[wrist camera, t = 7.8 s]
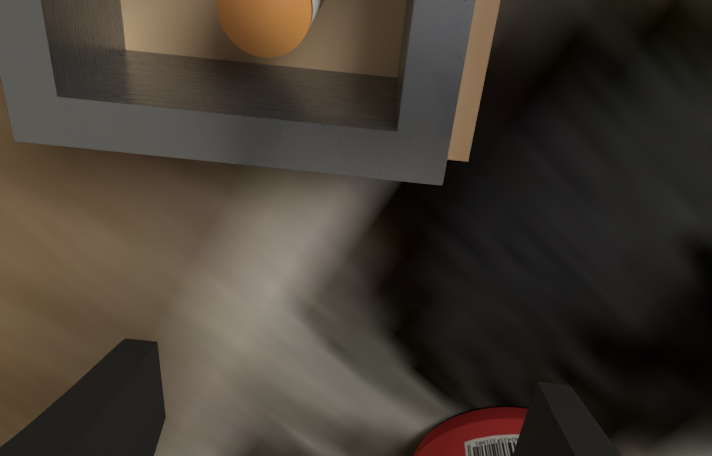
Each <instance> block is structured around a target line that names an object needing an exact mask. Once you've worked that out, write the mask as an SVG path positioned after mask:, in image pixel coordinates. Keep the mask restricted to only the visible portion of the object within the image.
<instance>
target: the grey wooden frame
mask: <svg viewBox="0 0 712 456" xmlns="http://www.w3.org/2000/svg"><path fill="white" fill-rule="evenodd" d="M475 2H476V0H407V1H406V9H405V17H404V25H403V33H402V41H401V49H400V57H399V66H398V74H397V78H395V77H386V76H376V75H366V74H356V73H347V72H337V71H327V70H317V69H308V68H298V67H288V66H278V65H269V64H259V63H249V62H239V61H230V60H220V59H210V58H200V57H191V56H181V55H171V54H162V53H152V52H142V51H132V50H126V47H125V37H124V28H123V19H122V10H121V1H120V0H0V77H1V81H2V86H3V90H4V95H5V99H6V104H7V108H8V113H9V118H10V122H11V127H12V131H13V136H14V140H15V141H17V142H27V143H36V144H46V145H56V146H65V147H75V148H85V149H94V150H104V151H114V152H123V153H133V154H143V155H153V156H162V157H172V158H182V159H191V160H201V161H211V162H220V163H230V164H240V165H249V166H259V167H269V168H278V169H288V170H298V171H308V172H317V173H327V174H337V175H346V176H356V177H366V178H375V179H385V180H395V181H404V182H414V183H424V184H433V185H443V180H444V174H445V169H446V163H447V158H448V152H449V146H450V141H451V135H452V130H453V124H454V119H455V113H456V108H457V102H458V96H459V91H460V85H461V80H462V74H463V69H464V63H465V58H466V52H467V46H468V41H469V35H470V30H471V24H472V19H473V13H474V8H475Z"/></svg>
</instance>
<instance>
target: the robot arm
mask: <svg viewBox="0 0 712 456" xmlns="http://www.w3.org/2000/svg"><path fill="white" fill-rule="evenodd" d="M164 421H165V408H164V399H163V390H162V380H161V371H160V362H159V353H158V344H157V342H153V341H144V340H134V339H124V340H123V341H122V342H120V343H119V344H118V345H117V346H116V347H115V348H114V349H113V350H111V351H110V352H109V353H108V354H107V355H106V356H105V357H104V358H103V359H102V360H101V361H100V362H99V363H97V364H96V365H95V366H94V367H93V368H92V369H91V370H90V371H89V372H88V373H87V374H86V375H84V376H83V377H82V378H81V379H80V380H79V381H78V382H77V383H76V384H75V385H73V386H72V387H71V388H70V389H69V390H68V391H67V392H66V393H65V394H63V395H62V396H61V397H60V398H59V399H58V400H57V401H55V402H54V403H53V404H52V405H51V406H50V407H49V408H47V409H46V410H45V411H44V412H43V413H42V414H41V415H39V416H38V417H37V418H36V419H35V420H34V421H32V422H31V423H30V424H29V425H28V426H27V427H25V428H24V429H23V430H22V431H20V432H19V433H18V434H17V435H15V436H14V437H13V438H12V439H10V440H9V441H8V442H7V443H5V444H4V445H3V446H2V447H0V456H154V453H155V450H156V447H157V444H158V440H159V437H160V434H161V430H162V427H163V424H164ZM513 456H621V455H620V453H619V452H618V451H617V449H616V448H615V447H614V445H613V444H612V442H611V441H610V440H609V438H608V437H607V436H606V434H605V433H604V432H603V430H602V429H601V427H600V426H599V425H598V423H597V422H596V421H595V419H594V418H593V416H592V415H591V414H590V412H589V411H588V409H587V408H586V407H585V405H584V404H583V403H582V401H581V400H580V398H579V397H578V396H577V394H576V393H575V392H574V390H573V389H572V388H571V386H570V385H565V384H555V383H546V382H537V383H536V386H535V389H534V392H533V395H532V398H531V401H530V404H529V407H528V410H527V413H526V416H525V419H524V422H523V425H522V428H521V431H520V434H519V437H518V440H517V443H516V446H515V449H514V452H513Z"/></svg>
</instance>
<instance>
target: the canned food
mask: <svg viewBox="0 0 712 456" xmlns="http://www.w3.org/2000/svg"><path fill="white" fill-rule="evenodd" d="M527 410H528V409H526V408H516V407H496V408H486V409H481V410H475V411H471V412H468V413H465V414H462V415H459V416H456V417H453V418H452V419H450V420H448V421H446V422H444V423H442V424H440V425H439V426H437V427H436V428H435V429H433V430H432V431H431V432H429V433H428V434H427V435H426V436H425V438H424V439H423V440H422V441H421V442H420V443H419V445H418V447H417V449H416V451H415V452H414V455H413V456H513V452H514V449H515V446H516V443H517V440H518V437H519V434H520V431H521V428H522V425H523V422H524V419H525V416H526V413H527Z"/></svg>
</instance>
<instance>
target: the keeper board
mask: <svg viewBox="0 0 712 456" xmlns="http://www.w3.org/2000/svg"><path fill="white" fill-rule="evenodd" d="M120 1H121V10H122V19H123V28H124V37H125V47H126V50H132V51H142V52H152V53H162V54H171V55H181V56H191V57H200V58H210V59H220V60H230V61H239V62H249V63H259V64H269V65H278V66H288V67H298V68H308V69H317V70H327V71H337V72H347V73H356V74H366V75H376V76H386V77H395V78H397V74H398V66H399V57H400V49H401V41H402V33H403V25H404V17H405V9H406V1H407V0H120ZM499 4H500V0H476V2H475V8H474V13H473V19H472V24H471V30H470V35H469V41H468V46H467V52H466V58H465V63H464V69H463V74H462V80H461V85H460V91H459V96H458V102H457V108H456V113H455V119H454V124H453V130H452V135H451V141H450V146H449V152H448V158H447V159H448V160H458V161H467V162H468V159H469V154H470V149H471V144H472V139H473V134H474V129H475V124H476V119H477V114H478V109H479V104H480V99H481V94H482V89H483V84H484V79H485V74H486V69H487V64H488V59H489V54H490V49H491V44H492V39H493V34H494V29H495V24H496V19H497V14H498V9H499Z"/></svg>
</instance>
